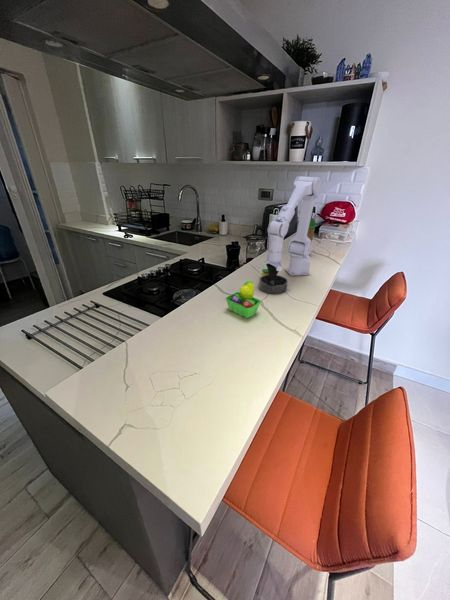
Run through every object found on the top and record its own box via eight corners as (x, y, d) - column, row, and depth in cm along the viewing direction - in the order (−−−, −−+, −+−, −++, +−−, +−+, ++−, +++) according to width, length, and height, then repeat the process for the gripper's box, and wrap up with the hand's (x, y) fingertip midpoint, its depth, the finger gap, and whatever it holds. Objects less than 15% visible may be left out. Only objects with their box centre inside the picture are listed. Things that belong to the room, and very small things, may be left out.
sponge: (261, 277, 124) (262, 269, 122) (272, 277, 124) (273, 268, 122) (263, 280, 120) (264, 272, 118) (275, 280, 121) (276, 271, 119)
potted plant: (312, 257, 151) (322, 207, 138) (294, 256, 151) (302, 206, 138) (307, 251, 161) (316, 204, 147) (290, 251, 161) (297, 203, 147)
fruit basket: (224, 309, 96) (224, 282, 91) (239, 301, 102) (240, 275, 97) (247, 321, 90) (249, 292, 84) (262, 312, 95) (265, 284, 90)
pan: (281, 281, 120) (282, 274, 118) (290, 293, 109) (292, 285, 107) (255, 282, 118) (256, 275, 116) (263, 294, 108) (263, 286, 106)
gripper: (261, 245, 113) (259, 274, 120) (271, 256, 101) (267, 287, 107) (276, 245, 114) (273, 273, 121) (288, 255, 102) (284, 286, 108)
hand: (271, 280), depth 114 cm, fingers closed
